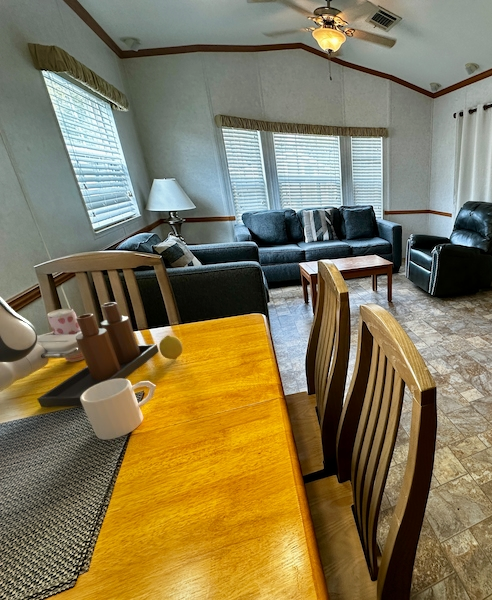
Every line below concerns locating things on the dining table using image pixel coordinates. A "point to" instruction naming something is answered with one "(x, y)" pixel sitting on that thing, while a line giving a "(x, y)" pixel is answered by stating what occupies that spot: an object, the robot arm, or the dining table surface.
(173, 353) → the lemon
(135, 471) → the dining table surface
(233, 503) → the dining table surface
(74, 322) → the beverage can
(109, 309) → the bottle back
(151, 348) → the tray
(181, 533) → the dining table surface
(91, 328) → the bottle middle
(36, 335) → the robot arm
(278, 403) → the dining table surface
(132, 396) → the mug
